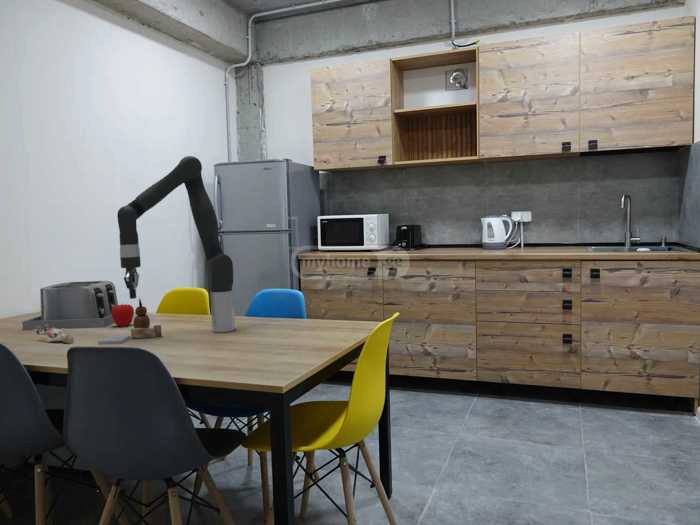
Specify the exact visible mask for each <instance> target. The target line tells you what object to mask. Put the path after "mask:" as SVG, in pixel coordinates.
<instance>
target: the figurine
mask: <svg viewBox="0 0 700 525" xmlns="http://www.w3.org/2000/svg"><path fill="white" fill-rule="evenodd" d="M36 334H37V335H41V336H42V335H43V336H45V335H46V336H47V338H46V339H45V343H51V342H55V341H56V342H59V341H60V342H61V343H65V344H67V343H69V344H73V343H74V341H75V340H74V339H75V338H74V336H73V335H70V334H67V333H66V332H64V330H62V329H56V328H51V329H49V325H44V329H42V327H41V326H37V330H36Z"/></svg>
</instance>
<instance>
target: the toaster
mask: <svg viewBox="0 0 700 525" xmlns="http://www.w3.org/2000/svg"><path fill="white" fill-rule="evenodd" d="M39 292H40V293H39V294H40V316H41V321H44V320H73V319H102V318H106V317H108V316H111V311H112V308H113V307H114V306H117V305H119V303H118V302H119V301H118V298H117V297H118V296H117V291H116V287H115V284H114V283H113V282H112V281H109V280H92V281H88V280H87V281H65V282H62V283H57V284H56V283H55V284H51V285H47V286H44V287H41V288H40V290H39Z"/></svg>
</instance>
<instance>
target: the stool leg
mask: <svg viewBox="0 0 700 525" xmlns="http://www.w3.org/2000/svg"><path fill="white" fill-rule="evenodd" d="M162 334H163V333H162V325H161V324H156V325H155V324H154V325H153V327H149V328H134V327H133V328H131V329H130V339H136V338H137V339H139V338H141V339H142V338H152V337H161V336H163V335H162Z"/></svg>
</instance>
